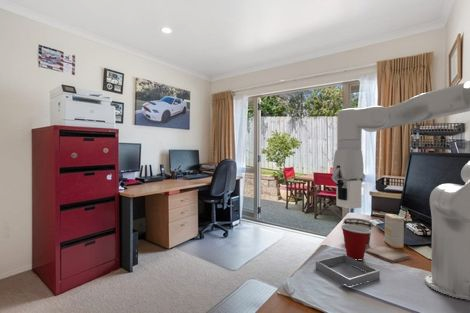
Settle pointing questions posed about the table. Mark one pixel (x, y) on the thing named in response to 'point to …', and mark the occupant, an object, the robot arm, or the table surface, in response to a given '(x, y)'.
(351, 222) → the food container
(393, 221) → the supplement box
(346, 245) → the plastic cup
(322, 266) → the bin
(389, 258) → the beige square coaster
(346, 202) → the carton
